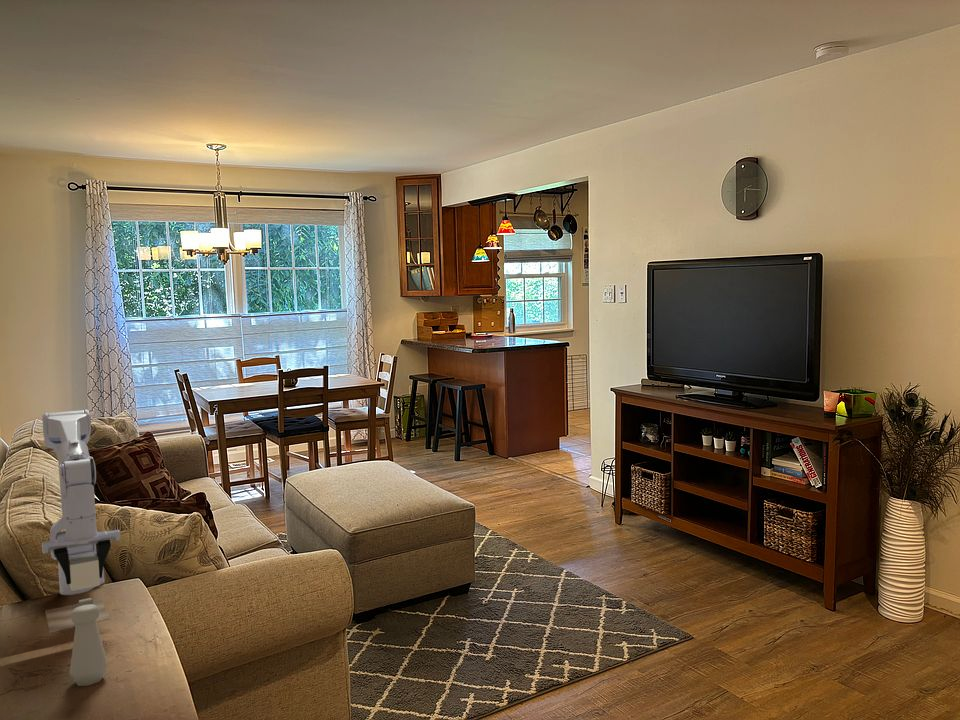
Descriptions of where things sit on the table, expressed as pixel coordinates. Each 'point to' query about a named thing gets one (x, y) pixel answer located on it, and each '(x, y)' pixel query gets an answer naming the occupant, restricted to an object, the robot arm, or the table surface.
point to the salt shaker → (87, 647)
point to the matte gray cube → (84, 571)
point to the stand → (62, 616)
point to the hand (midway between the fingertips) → (84, 579)
